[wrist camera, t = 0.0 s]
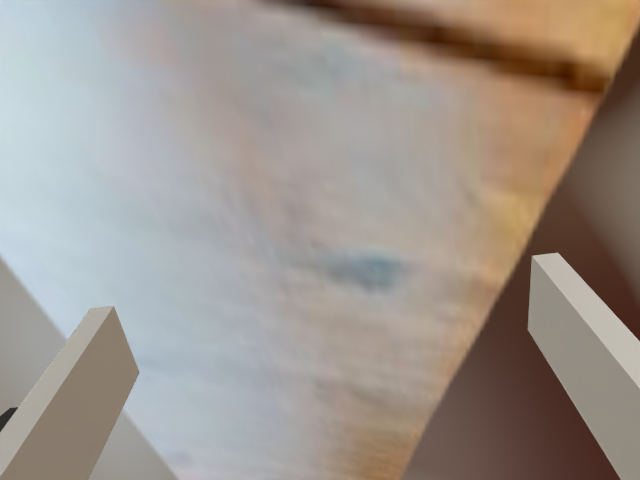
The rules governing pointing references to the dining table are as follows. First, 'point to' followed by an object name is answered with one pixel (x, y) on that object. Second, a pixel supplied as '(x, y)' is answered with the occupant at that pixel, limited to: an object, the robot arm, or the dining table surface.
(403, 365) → the dining table surface
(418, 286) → the dining table surface
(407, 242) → the dining table surface
